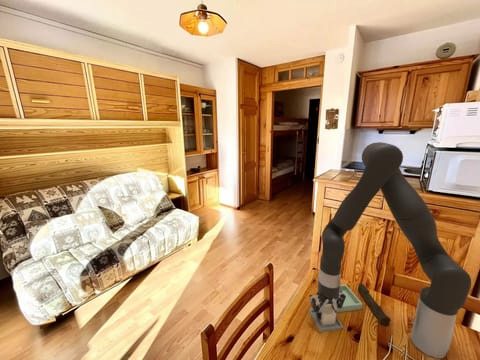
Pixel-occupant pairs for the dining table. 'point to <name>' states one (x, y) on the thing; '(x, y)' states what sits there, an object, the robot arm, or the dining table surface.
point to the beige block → (328, 316)
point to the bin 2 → (349, 300)
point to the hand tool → (373, 305)
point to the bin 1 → (327, 327)
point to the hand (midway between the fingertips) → (325, 316)
